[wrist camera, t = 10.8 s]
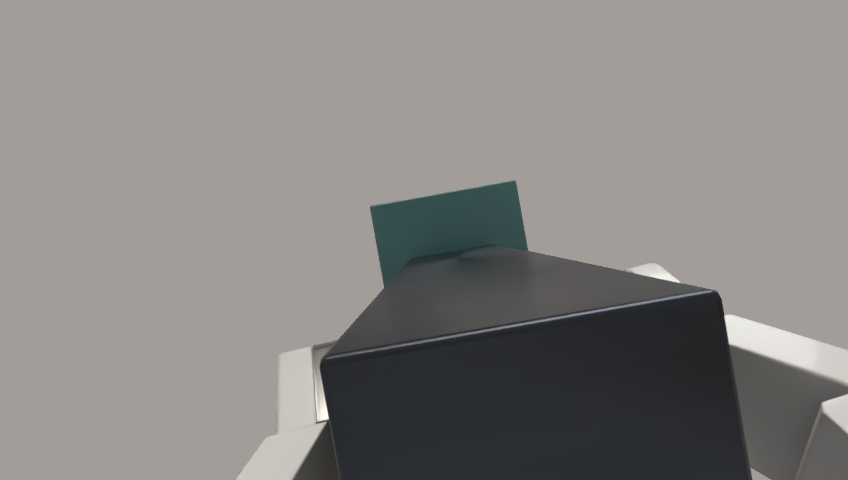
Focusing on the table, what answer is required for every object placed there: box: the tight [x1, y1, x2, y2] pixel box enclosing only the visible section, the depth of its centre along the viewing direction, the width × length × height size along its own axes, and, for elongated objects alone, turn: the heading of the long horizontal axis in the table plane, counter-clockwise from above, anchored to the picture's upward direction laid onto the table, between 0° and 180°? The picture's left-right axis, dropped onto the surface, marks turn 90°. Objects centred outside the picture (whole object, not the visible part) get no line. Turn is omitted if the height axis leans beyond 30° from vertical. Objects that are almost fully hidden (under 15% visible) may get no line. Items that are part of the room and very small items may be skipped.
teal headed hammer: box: [319, 180, 752, 480], centre depth 13 cm, size 5×19×5 cm, turn 179°
